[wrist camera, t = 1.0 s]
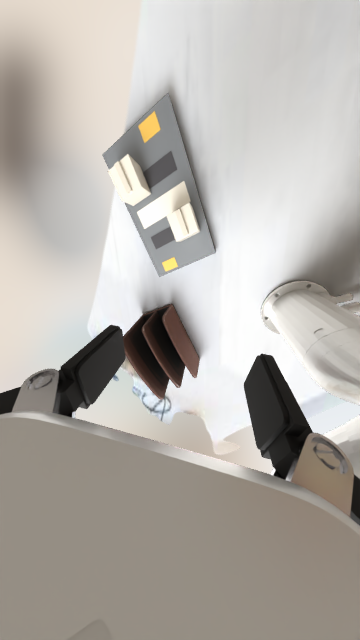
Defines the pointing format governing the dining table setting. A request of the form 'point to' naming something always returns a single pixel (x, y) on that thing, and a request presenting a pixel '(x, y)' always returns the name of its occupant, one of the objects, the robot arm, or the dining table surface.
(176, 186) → the switch panel
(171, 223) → the switch tab
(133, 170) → the switch tab
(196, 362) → the letter holder
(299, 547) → the robot arm
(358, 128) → the dining table surface
